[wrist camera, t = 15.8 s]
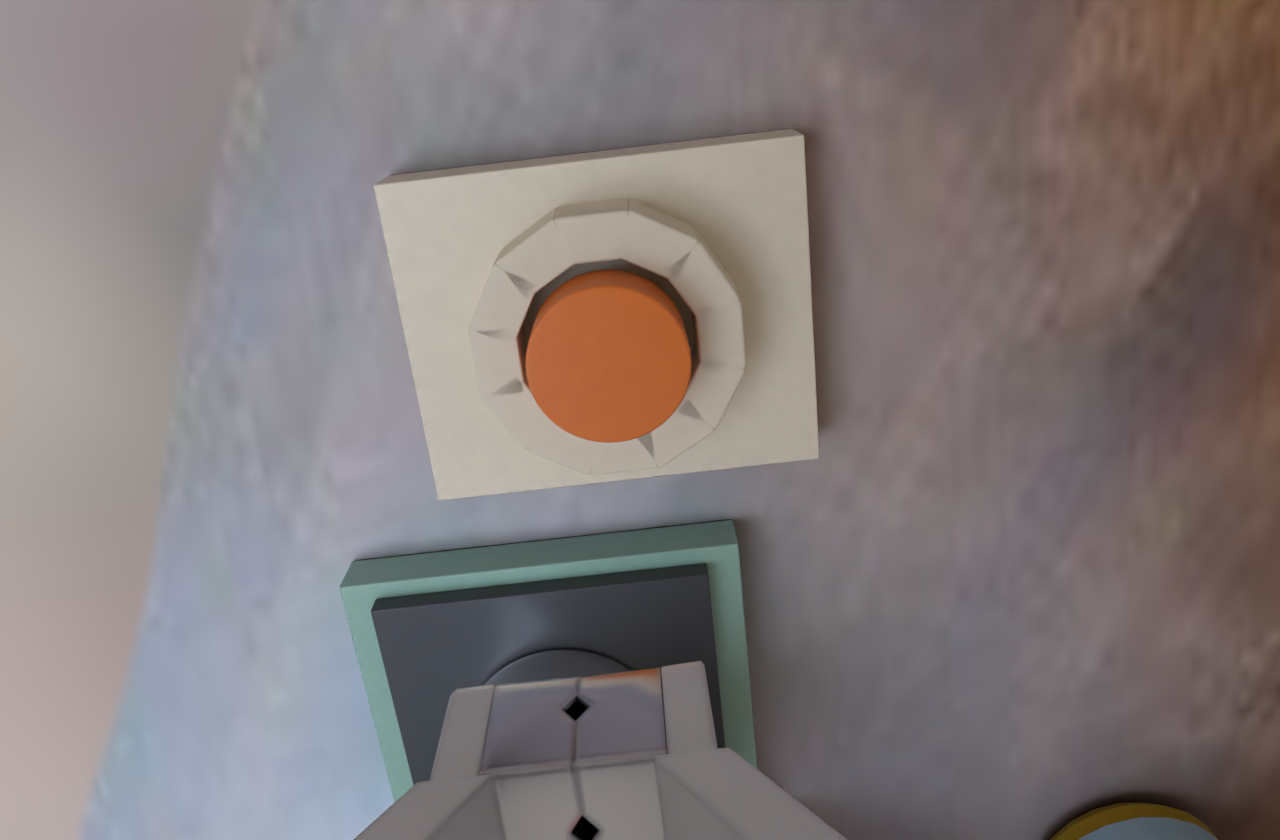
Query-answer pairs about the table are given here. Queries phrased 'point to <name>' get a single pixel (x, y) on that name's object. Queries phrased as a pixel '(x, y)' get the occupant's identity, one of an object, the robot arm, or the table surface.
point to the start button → (608, 356)
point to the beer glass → (556, 667)
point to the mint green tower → (545, 624)
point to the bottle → (1135, 824)
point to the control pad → (599, 240)
